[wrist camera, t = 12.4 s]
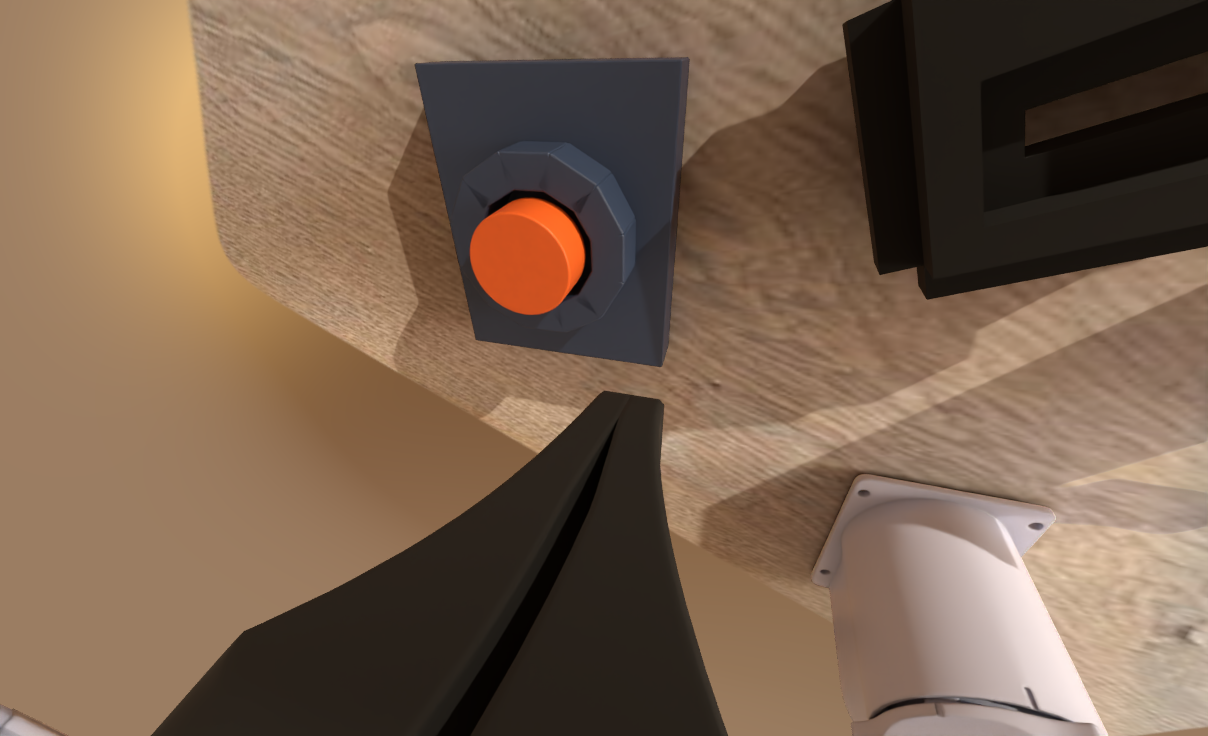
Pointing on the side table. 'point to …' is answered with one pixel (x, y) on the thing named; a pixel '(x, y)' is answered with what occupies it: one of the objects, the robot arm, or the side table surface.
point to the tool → (1022, 138)
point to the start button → (528, 255)
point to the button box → (569, 187)
